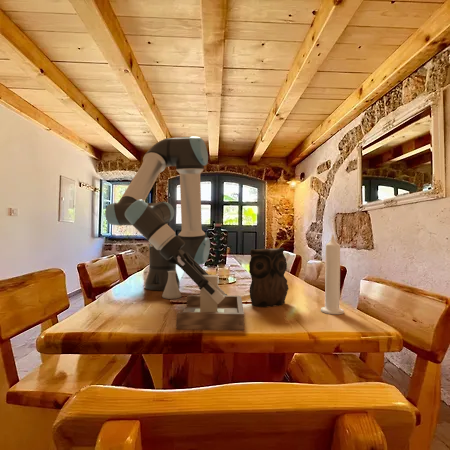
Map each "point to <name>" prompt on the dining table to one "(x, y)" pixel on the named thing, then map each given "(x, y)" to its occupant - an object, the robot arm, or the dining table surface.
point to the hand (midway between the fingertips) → (221, 298)
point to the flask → (171, 287)
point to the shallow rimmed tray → (212, 315)
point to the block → (208, 296)
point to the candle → (332, 278)
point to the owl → (268, 277)
